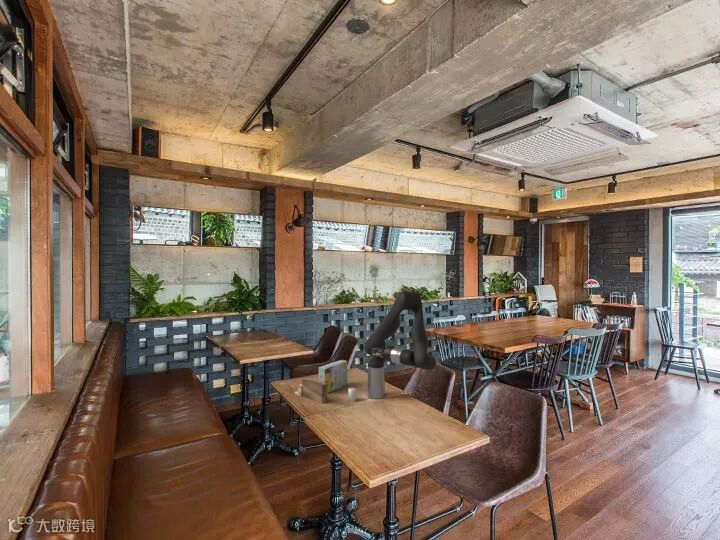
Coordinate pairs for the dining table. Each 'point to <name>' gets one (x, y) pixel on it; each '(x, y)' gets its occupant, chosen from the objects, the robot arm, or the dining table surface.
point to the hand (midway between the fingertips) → (368, 349)
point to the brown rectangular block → (314, 390)
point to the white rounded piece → (352, 394)
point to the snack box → (334, 375)
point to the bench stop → (299, 390)
